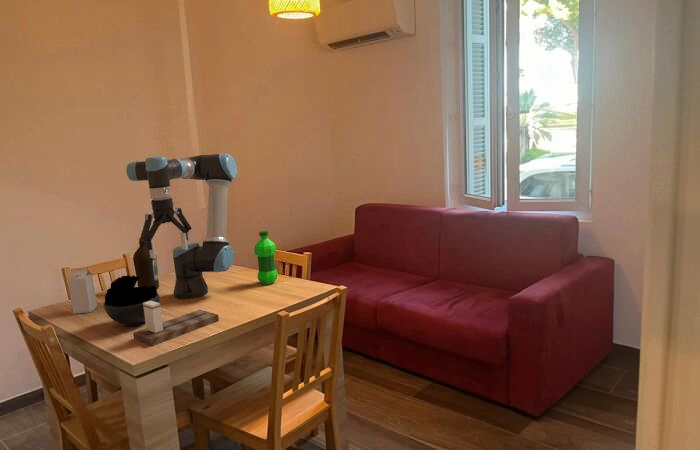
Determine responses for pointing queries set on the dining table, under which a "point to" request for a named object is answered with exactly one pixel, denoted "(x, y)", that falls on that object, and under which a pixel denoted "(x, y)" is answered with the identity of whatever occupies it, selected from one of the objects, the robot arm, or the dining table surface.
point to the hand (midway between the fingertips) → (169, 253)
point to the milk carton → (82, 290)
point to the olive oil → (145, 266)
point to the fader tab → (153, 316)
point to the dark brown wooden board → (176, 327)
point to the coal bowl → (128, 300)
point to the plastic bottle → (266, 259)
